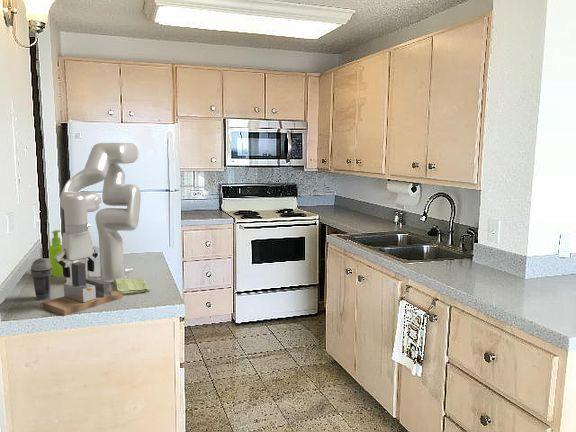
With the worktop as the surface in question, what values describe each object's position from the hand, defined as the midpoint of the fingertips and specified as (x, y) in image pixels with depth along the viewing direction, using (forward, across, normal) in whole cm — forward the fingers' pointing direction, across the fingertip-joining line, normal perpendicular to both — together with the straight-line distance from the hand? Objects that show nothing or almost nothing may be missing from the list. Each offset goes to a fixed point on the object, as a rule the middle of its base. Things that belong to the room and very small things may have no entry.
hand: (79, 274), depth 176 cm
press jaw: (+9, 0, +1) cm, 9 cm away
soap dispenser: (+12, -18, -45) cm, 50 cm away
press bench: (+11, -1, 0) cm, 11 cm away
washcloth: (+12, -23, 0) cm, 26 cm away
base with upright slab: (+12, -16, -27) cm, 33 cm away
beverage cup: (+12, +5, -17) cm, 21 cm away
